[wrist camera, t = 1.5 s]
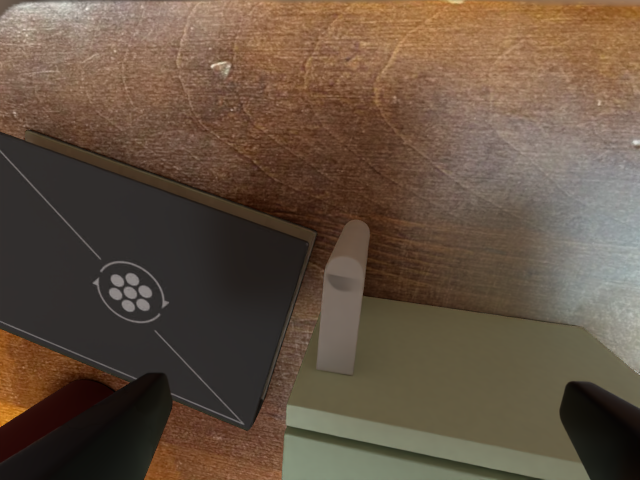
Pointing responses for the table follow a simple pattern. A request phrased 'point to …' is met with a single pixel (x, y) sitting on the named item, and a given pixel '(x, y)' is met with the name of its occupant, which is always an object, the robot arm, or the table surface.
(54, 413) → the mug
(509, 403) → the door
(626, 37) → the table surface
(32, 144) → the book
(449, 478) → the cupboard
